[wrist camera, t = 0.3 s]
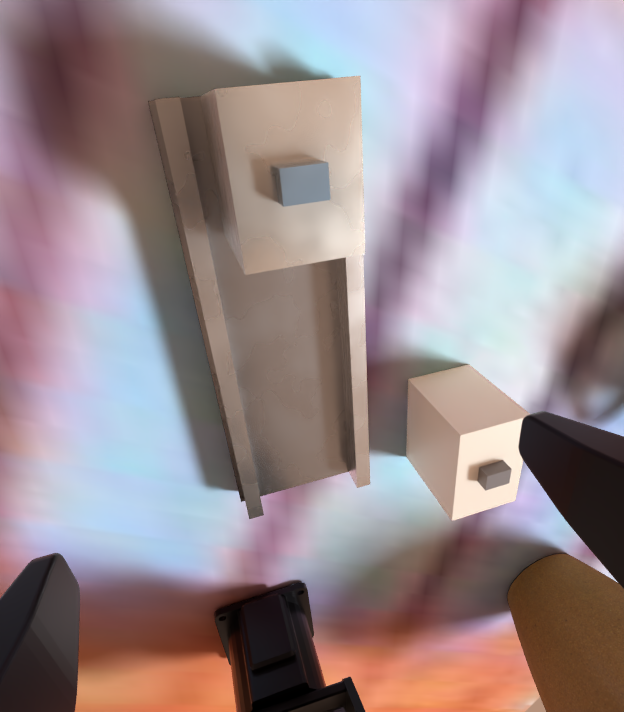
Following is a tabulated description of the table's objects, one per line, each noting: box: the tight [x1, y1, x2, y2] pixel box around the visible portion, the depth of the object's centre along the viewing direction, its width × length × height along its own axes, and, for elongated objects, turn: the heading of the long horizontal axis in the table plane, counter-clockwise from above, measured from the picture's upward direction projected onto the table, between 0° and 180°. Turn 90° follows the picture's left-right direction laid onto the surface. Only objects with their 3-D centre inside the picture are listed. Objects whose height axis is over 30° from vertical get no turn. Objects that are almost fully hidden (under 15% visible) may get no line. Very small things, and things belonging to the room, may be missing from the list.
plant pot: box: [507, 554, 624, 712], centre depth 35 cm, size 15×15×16 cm
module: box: [406, 364, 530, 521], centre depth 25 cm, size 6×4×6 cm, turn 5°
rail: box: [148, 76, 370, 519], centre depth 19 cm, size 20×8×7 cm, turn 5°
